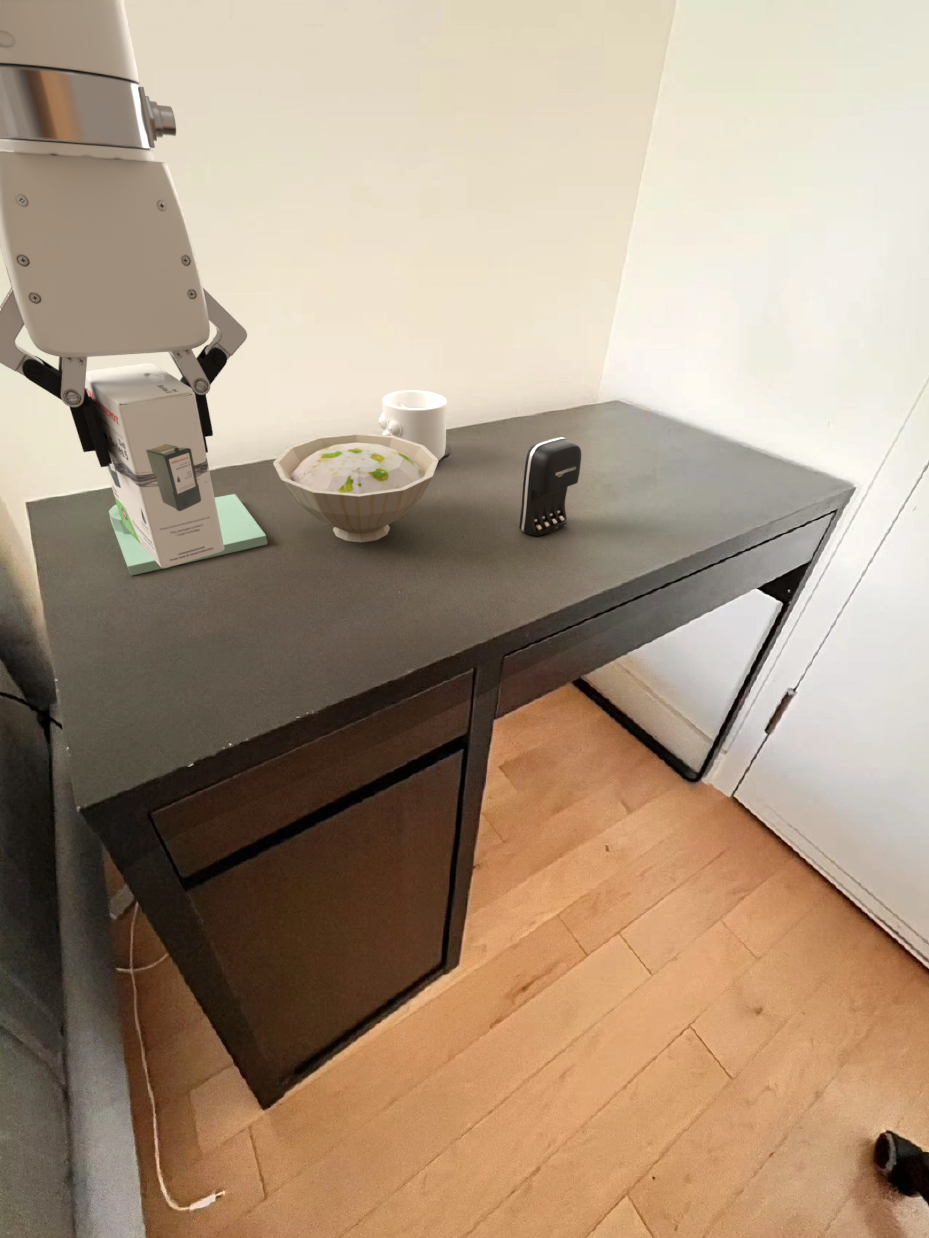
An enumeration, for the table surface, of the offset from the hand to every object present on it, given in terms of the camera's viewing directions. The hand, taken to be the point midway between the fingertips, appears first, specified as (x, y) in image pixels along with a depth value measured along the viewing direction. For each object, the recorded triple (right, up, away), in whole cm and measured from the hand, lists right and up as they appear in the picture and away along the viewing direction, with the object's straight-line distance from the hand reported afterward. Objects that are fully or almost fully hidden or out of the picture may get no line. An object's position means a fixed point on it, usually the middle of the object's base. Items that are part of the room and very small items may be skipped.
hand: (152, 450), depth 43 cm
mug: (+13, +14, +55) cm, 58 cm away
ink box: (0, -6, +4) cm, 7 cm away
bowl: (+9, -1, +35) cm, 36 cm away
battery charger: (+33, 0, +37) cm, 49 cm away
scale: (-11, -2, +31) cm, 33 cm away
